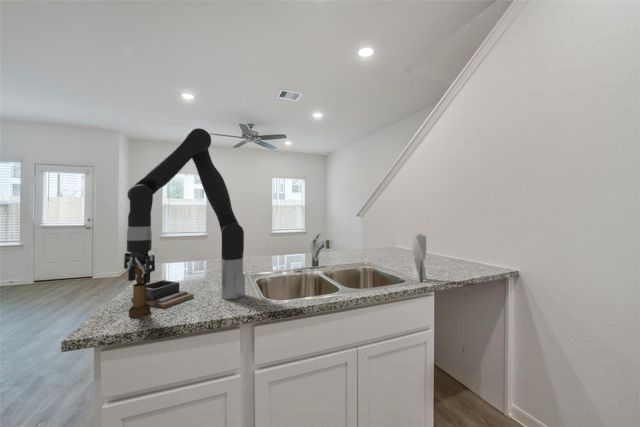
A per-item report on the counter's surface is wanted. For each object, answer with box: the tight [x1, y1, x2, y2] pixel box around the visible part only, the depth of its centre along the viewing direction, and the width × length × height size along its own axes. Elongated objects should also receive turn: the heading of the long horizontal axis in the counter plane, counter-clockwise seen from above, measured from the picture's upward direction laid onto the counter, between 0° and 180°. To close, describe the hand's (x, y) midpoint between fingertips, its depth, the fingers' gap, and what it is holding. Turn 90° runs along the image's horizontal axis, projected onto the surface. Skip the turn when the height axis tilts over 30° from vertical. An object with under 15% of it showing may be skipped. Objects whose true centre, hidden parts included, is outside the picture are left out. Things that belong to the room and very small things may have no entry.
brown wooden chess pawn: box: [128, 266, 151, 318], centre depth 94 cm, size 7×6×18 cm
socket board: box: [130, 279, 194, 309], centre depth 110 cm, size 20×14×6 cm
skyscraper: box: [411, 230, 427, 283], centre depth 143 cm, size 8×8×28 cm
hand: (139, 281), depth 94 cm, fingers open, 8 cm apart
